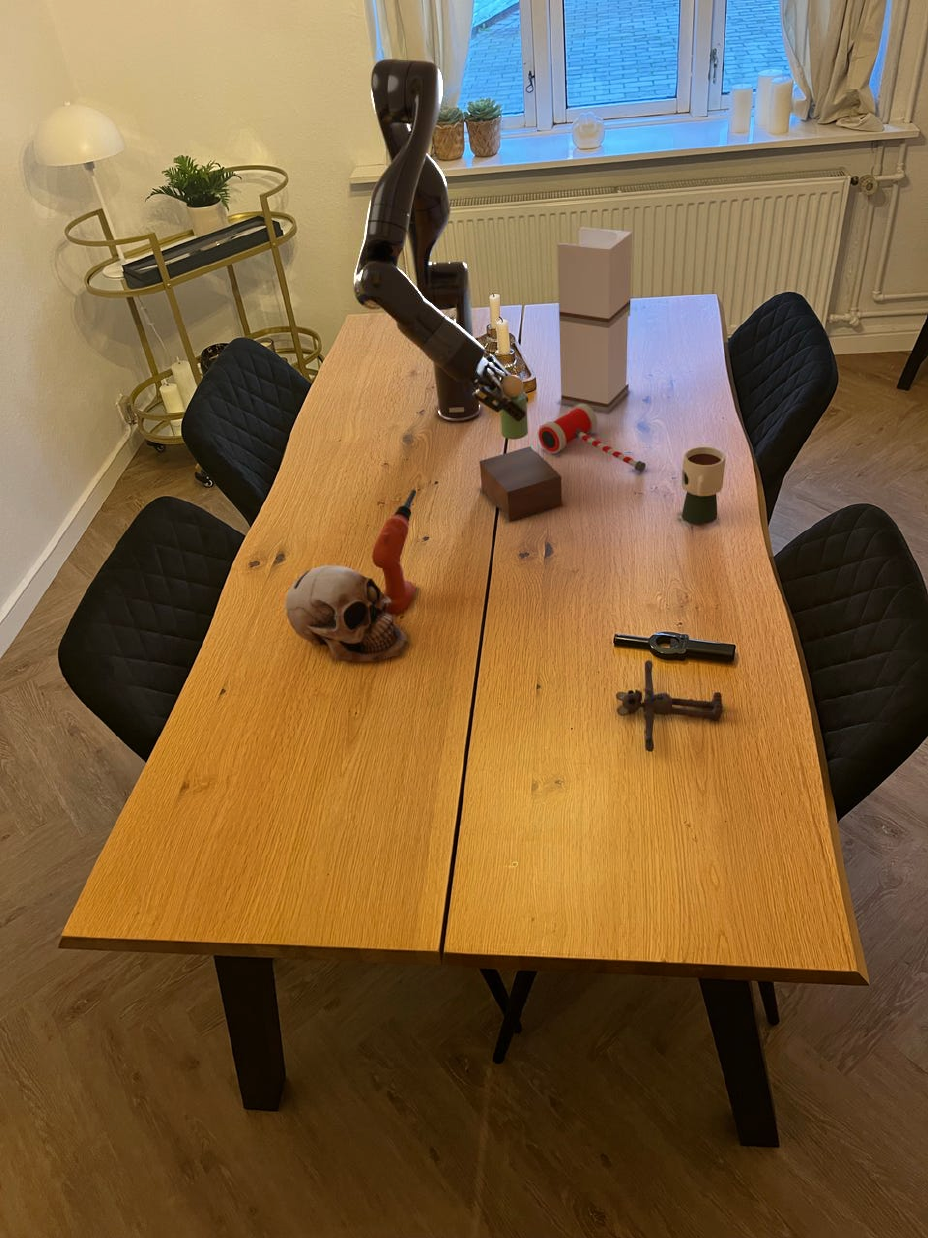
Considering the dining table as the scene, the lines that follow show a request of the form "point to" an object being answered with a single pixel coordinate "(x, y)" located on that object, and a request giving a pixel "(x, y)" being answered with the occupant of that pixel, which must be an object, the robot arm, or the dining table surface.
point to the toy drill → (395, 557)
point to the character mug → (702, 483)
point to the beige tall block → (594, 317)
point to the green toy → (515, 392)
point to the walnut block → (521, 483)
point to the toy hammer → (578, 434)
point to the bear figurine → (664, 705)
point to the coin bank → (344, 614)
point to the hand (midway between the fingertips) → (523, 409)
